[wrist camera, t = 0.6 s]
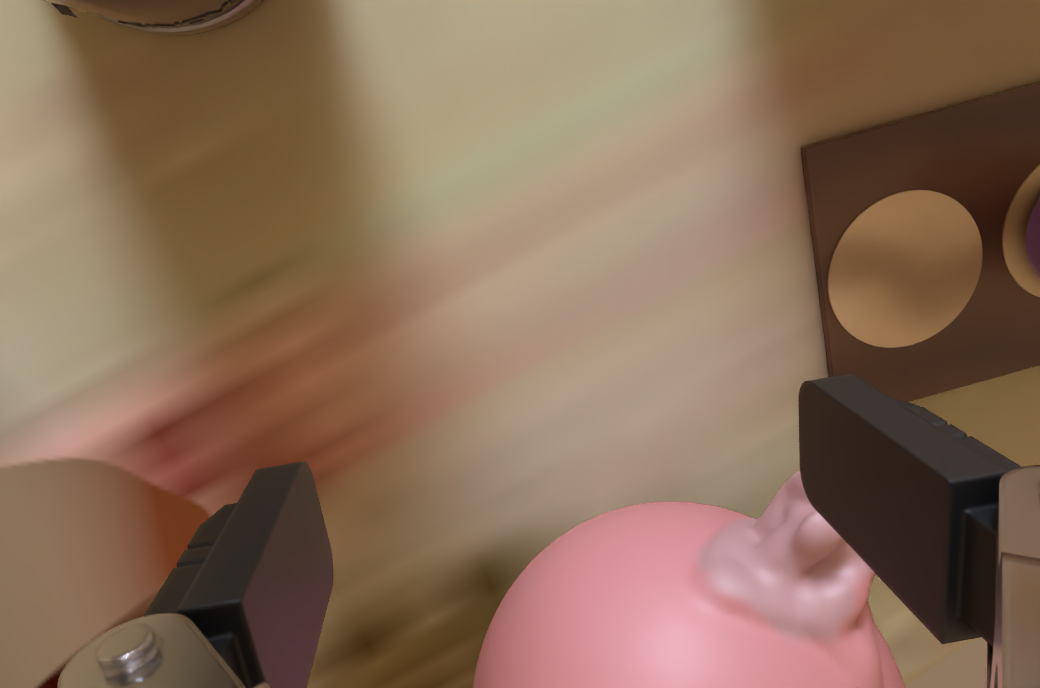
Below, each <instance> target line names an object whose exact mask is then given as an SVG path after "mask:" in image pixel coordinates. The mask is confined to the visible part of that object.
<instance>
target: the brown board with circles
mask: <svg viewBox="0 0 1040 688" xmlns="http://www.w3.org/2000/svg"><path fill="white" fill-rule="evenodd" d="M801 152H802V160H803V168H804V176H805V184H806V192H807V200H808V208H809V216H810V225H811V233H812V241H813V249H814V257H815V265H816V273H817V281H818V289H819V297H820V305H821V313H822V321H823V329H824V337H825V345H826V353H827V361H828V369H829V377H835V376H842V375H848V374H852V375H855V376H857V377H858V378H860V379H862V380H863V381H865V382H866V383H868V384H870V385H871V386H873V387H874V388H876V389H878V390H879V391H881V392H882V393H884V394H886V395H887V396H889V397H891V398H895V399H898V400H901V401H904V402H909V401H913V400H916V399H920V398H924V397H927V396H931V395H934V394H938V393H942V392H945V391H949V390H952V389H956V388H959V387H963V386H967V385H970V384H974V383H977V382H981V381H985V380H988V379H992V378H995V377H999V376H1002V375H1006V374H1010V373H1013V372H1017V371H1020V370H1024V369H1028V368H1031V367H1035V366H1038V365H1040V279H1039V278H1038V277H1037V275H1036V274H1035V273H1034V271H1033V270H1032V268H1031V266H1030V264H1029V261H1028V258H1027V254H1026V246H1025V236H1026V229H1027V224H1028V220H1029V217H1030V214H1031V212H1032V209H1033V207H1034V205H1035V203H1036V201H1037V200H1038V198H1039V196H1040V82H1037V83H1034V84H1030V85H1026V86H1023V87H1019V88H1015V89H1012V90H1008V91H1004V92H1001V93H997V94H994V95H990V96H986V97H983V98H979V99H975V100H972V101H968V102H964V103H961V104H957V105H954V106H950V107H946V108H943V109H939V110H935V111H932V112H928V113H924V114H921V115H917V116H914V117H910V118H906V119H903V120H899V121H895V122H892V123H888V124H885V125H881V126H877V127H874V128H870V129H866V130H863V131H859V132H855V133H852V134H848V135H845V136H841V137H837V138H834V139H830V140H826V141H823V142H819V143H815V144H812V145H808V146H805V147H802V148H801Z"/></svg>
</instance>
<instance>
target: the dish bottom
mask: <svg viewBox="0 0 1040 688" xmlns="http://www.w3.org/2000/svg"><path fill="white" fill-rule="evenodd" d="M1025 246H1026V254H1027V258H1028V261H1029V264H1030V266H1031V268H1032V270H1033V271H1034V273H1035V274H1036V275H1037V277H1038V278H1039V279H1040V196H1039V198H1038V200H1037V201H1036V203H1035V205H1034V207H1033V209H1032V212H1031V214H1030V217H1029V220H1028V224H1027V229H1026V236H1025Z"/></svg>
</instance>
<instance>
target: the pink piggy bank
mask: <svg viewBox="0 0 1040 688" xmlns="http://www.w3.org/2000/svg"><path fill="white" fill-rule="evenodd" d="M874 576H875V572H874V571H873V570H872V569H871V568H870V567H869V566H868V565H867V564H866V563H865V562H864V561H863V560H862V559H861V558H860V556H859V555H858V554H857V553H856V552H855V551H854V550H853V549H852V548H851V547H850V546H849V545H848V544H847V543H846V542H845V541H844V539H843V538H842V537H841V536H840V535H839V534H838V533H837V532H836V531H835V530H834V529H833V528H832V527H831V526H830V525H829V524H828V522H827V521H826V520H825V519H824V518H823V517H822V516H821V515H820V514H819V513H818V512H817V511H816V510H815V509H814V507H813V506H812V505H811V503H810V502H809V500H808V498H807V496H806V493H805V491H804V488H803V484H802V480H801V475H800V470H799V471H797V472H796V473H794V474H793V475H792V476H790V477H789V479H788V480H787V481H786V482H785V483H784V484H783V485H782V487H781V488H780V489H779V491H778V492H777V493H776V495H775V496H774V498H773V500H772V501H771V503H770V504H769V505H768V507H767V508H766V510H765V511H764V513H763V514H762V515H761V516H760V517H759V518H751V517H749V516H746V515H744V514H741V513H738V512H735V511H732V510H728V509H725V508H721V507H717V506H712V505H706V504H699V503H691V502H651V503H643V504H636V505H631V506H627V507H623V508H619V509H615V510H612V511H609V512H606V513H603V514H601V515H598V516H596V517H594V518H591V519H589V520H587V521H585V522H583V523H581V524H579V525H577V526H576V527H574V528H572V529H571V530H569V531H568V532H566V533H564V534H563V535H562V536H560V537H559V538H557V539H556V540H555V541H553V542H552V543H551V544H550V545H548V546H547V547H546V548H545V549H544V550H543V551H541V552H540V553H539V554H538V555H537V556H536V557H535V558H534V559H533V560H532V561H531V562H530V563H529V564H528V566H527V567H526V568H525V569H524V570H523V571H522V573H521V574H520V575H519V576H518V578H517V579H516V580H515V582H514V583H513V584H512V586H511V587H510V589H509V590H508V592H507V593H506V595H505V596H504V598H503V600H502V601H501V603H500V605H499V607H498V609H497V611H496V613H495V615H494V617H493V619H492V621H491V623H490V626H489V628H488V631H487V633H486V636H485V639H484V642H483V645H482V648H481V651H480V655H479V658H478V662H477V667H476V671H475V677H474V682H473V688H905V685H904V682H903V679H902V676H901V674H900V671H899V669H898V666H897V664H896V662H895V660H894V657H893V655H892V653H891V651H890V649H889V647H888V645H887V643H886V641H885V639H884V637H883V636H882V634H881V632H880V630H879V629H878V627H877V626H876V624H875V622H874V620H873V617H872V614H871V610H870V607H869V604H868V601H867V600H868V596H869V591H870V585H871V582H872V579H873V578H874Z"/></svg>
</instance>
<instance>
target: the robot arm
mask: <svg viewBox="0 0 1040 688" xmlns="http://www.w3.org/2000/svg"><path fill="white" fill-rule="evenodd" d="M43 1H47V2H51V3H52V4H53V5H54V6H55V7H56V8H57V9H58V10H59V11H60V12H61V13H62V14H65V15H69V16H73V17H77V16H76V15H75V14H74V13H73V12H72V11H71V10H70V9H69V8H73V9H76V10H80V11H84V12H87V13H91V14H95V15H97V16H99V17H102V18H104V19H107V20H109V21H112V22H114V23H117V24H120V25H124V26H127V27H130V28H134V29H138V30H142V31H147V32H152V33H158V34H168V35H186V34H196V33H201V32H206V31H211V30H214V29H217V28H220V27H223V26H225V25H227V24H230V23H232V22H234V21H236V20H238V19H239V18H241V17H243V16H244V15H246V14H247V13H249V12H250V11H251V10H253V9H254V8H255V7H257V6H258V5H259V4H260V3H261V2H262V1H263V0H43ZM68 7H69V8H68ZM77 18H78V17H77ZM799 448H800V475H801V480H802V484H803V488H804V491H805V493H806V496H807V498H808V500H809V502H810V503H811V505H812V506H813V507H814V509H815V510H816V511H817V512H818V513H819V514H820V515H821V516H822V517H823V518H824V519H825V520H826V521H827V522H828V524H829V525H830V526H831V527H832V528H833V529H834V530H835V531H836V532H837V533H838V534H839V535H840V536H841V537H842V538H843V539H844V541H845V542H846V543H847V544H848V545H849V546H850V547H851V548H852V549H853V550H854V551H855V552H856V553H857V554H858V555H859V556H860V558H861V559H862V560H863V561H864V562H865V563H866V564H867V565H868V566H869V567H870V568H871V569H872V570H873V571H874V572H875V573H876V575H877V576H878V577H879V578H880V579H881V580H882V581H883V582H884V583H885V584H886V585H887V586H888V587H889V588H890V589H891V590H892V591H893V593H894V594H895V595H896V596H897V597H898V598H899V599H900V600H901V601H902V602H903V603H904V604H905V605H906V606H907V607H908V608H909V610H910V611H911V612H912V613H913V614H914V615H915V616H916V617H917V618H918V619H919V620H920V621H921V622H922V623H923V624H924V625H925V627H926V628H927V629H928V630H929V631H930V632H931V633H932V634H933V635H934V636H935V637H936V638H937V639H938V640H939V641H940V642H941V644H946V643H951V642H957V641H963V640H968V639H974V638H979V637H983V638H984V639H985V640H986V641H987V653H986V667H985V688H1040V465H1032V466H1025V467H1021V466H1020V465H1018V464H1016V463H1015V462H1013V461H1011V460H1010V459H1008V458H1006V457H1005V456H1003V455H1001V454H1000V453H998V452H996V451H995V450H993V449H992V448H990V447H988V446H987V445H985V444H983V443H982V442H980V441H978V440H977V439H975V438H973V437H972V436H970V437H967V435H966V433H965V432H963V431H962V430H960V429H958V428H957V427H955V426H953V425H952V424H950V425H947V421H945V420H943V419H942V418H940V417H938V416H937V415H935V414H933V413H932V412H930V411H928V410H927V409H925V408H923V407H920V406H917V405H914V404H911V403H908V402H904V401H901V400H898V399H895V398H891V397H889V396H887V395H886V394H884V393H882V392H881V391H879V390H878V389H876V388H874V387H873V386H871V385H870V384H868V383H866V382H865V381H863V380H862V379H860V378H858V377H857V376H855V375H852V374H848V375H842V376H835V377H829V378H823V379H817V380H811V381H805V382H804V383H803V384H802V385H801V388H800V391H799ZM332 586H333V559H332V552H331V547H330V542H329V538H328V534H327V530H326V526H325V522H324V518H323V514H322V510H321V506H320V502H319V498H318V494H317V490H316V486H315V482H314V478H313V474H312V471H311V469H310V467H309V465H308V464H307V463H306V462H305V461H304V462H297V463H291V464H285V465H279V466H272V467H266V468H260V469H257V470H256V471H255V472H254V474H253V476H252V477H251V479H250V481H249V483H248V485H247V486H246V488H245V490H244V492H243V493H242V495H241V497H240V499H239V500H238V502H237V503H234V504H228V505H225V506H223V507H222V508H221V509H220V510H219V511H217V512H216V513H215V514H214V515H212V516H211V517H210V518H209V519H207V520H206V521H205V522H204V523H202V524H201V525H200V527H199V528H198V530H197V532H196V533H195V535H194V536H193V538H192V540H191V541H190V543H189V544H188V550H185V551H184V552H183V554H182V556H181V557H180V559H179V560H178V562H177V568H174V569H173V570H172V572H171V573H170V575H169V576H168V578H167V580H166V581H165V583H164V584H163V586H162V588H161V589H160V591H159V592H158V594H157V596H156V597H155V599H154V600H153V602H152V604H151V605H150V607H149V608H148V610H147V612H146V613H145V615H144V616H143V617H140V618H137V619H134V620H131V621H128V622H126V623H123V624H121V625H119V626H117V627H115V628H113V629H111V630H109V631H107V632H105V633H103V634H102V635H100V636H99V637H97V638H95V639H94V640H92V641H91V642H90V643H88V644H87V645H86V646H84V647H83V648H82V649H81V650H80V651H79V652H78V653H77V654H75V655H74V656H73V658H72V659H71V660H70V661H69V662H68V663H67V665H66V666H65V668H64V669H63V671H62V673H61V675H60V677H59V681H58V688H307V684H308V680H309V676H310V672H311V668H312V664H313V660H314V657H315V653H316V649H317V645H318V641H319V637H320V633H321V629H322V625H323V622H324V618H325V614H326V610H327V606H328V602H329V598H330V594H331V590H332Z"/></svg>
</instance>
